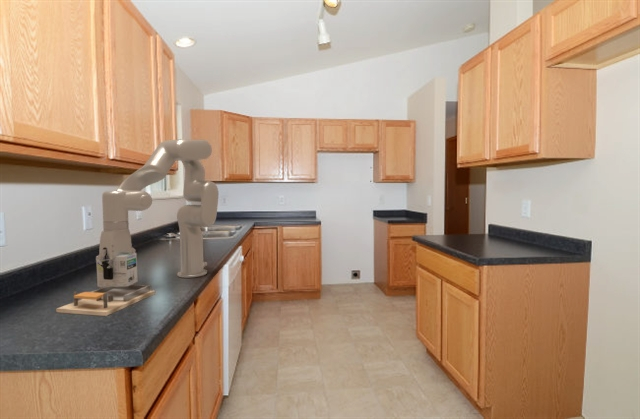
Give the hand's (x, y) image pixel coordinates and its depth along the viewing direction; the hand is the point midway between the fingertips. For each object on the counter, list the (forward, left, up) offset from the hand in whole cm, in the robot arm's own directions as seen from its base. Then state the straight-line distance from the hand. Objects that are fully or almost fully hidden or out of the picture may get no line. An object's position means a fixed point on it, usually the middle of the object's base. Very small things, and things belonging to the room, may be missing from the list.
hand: (117, 276), depth 116 cm
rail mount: (+3, 0, -8) cm, 9 cm away
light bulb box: (0, 0, -3) cm, 3 cm away
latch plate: (+11, 0, -4) cm, 12 cm away
